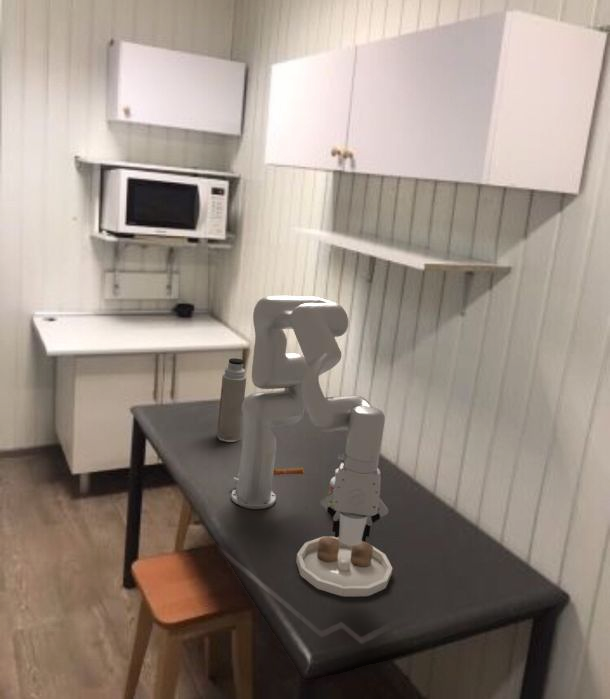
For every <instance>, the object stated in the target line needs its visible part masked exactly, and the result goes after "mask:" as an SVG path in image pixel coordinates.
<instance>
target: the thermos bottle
mask: <svg viewBox="0 0 610 699" xmlns="http://www.w3.org/2000/svg"><path fill="white" fill-rule="evenodd" d="M244 362H245V361H244V360H243V359H241V358H238V357H237V358H235V357H233V358H229V359H228V365H227V367H225V370H224V373H223V374H222V379H221V389H220V401H219V411H218V421H217V422H218V423H217V431H216V432H217V433H216V437H217V436H218V437H219V438H221V439H224V440H238V439H239V438H240V439H241V437H242V436H241V434H242V427H243V416H242V404H243V401H244V399H245V398H246V397H245V395H246V387H247V386H246V384H247V376H246V369H244Z"/></svg>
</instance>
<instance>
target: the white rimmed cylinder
mask: <svg viewBox="0 0 610 699" xmlns="http://www.w3.org/2000/svg"><path fill="white" fill-rule="evenodd" d="M367 517H368V516H365V515H358V514H350V513H344V512H340V517H339V522H340V527H339V534H338V539H339V541H340V542H342V543H343V544H346V545H351V546H355V545H360V544H361V543H362V542H363V541H362V538H363V533H364V528H365V525H367Z"/></svg>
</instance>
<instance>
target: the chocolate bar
mask: <svg viewBox="0 0 610 699" xmlns="http://www.w3.org/2000/svg"><path fill="white" fill-rule="evenodd" d="M280 474H281V475H282V474H298V475H305V467H290V468H289V467H288V468H287V467H286V468H284V467H283V468H274V471H273V475H280ZM282 476H283V475H282Z"/></svg>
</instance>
